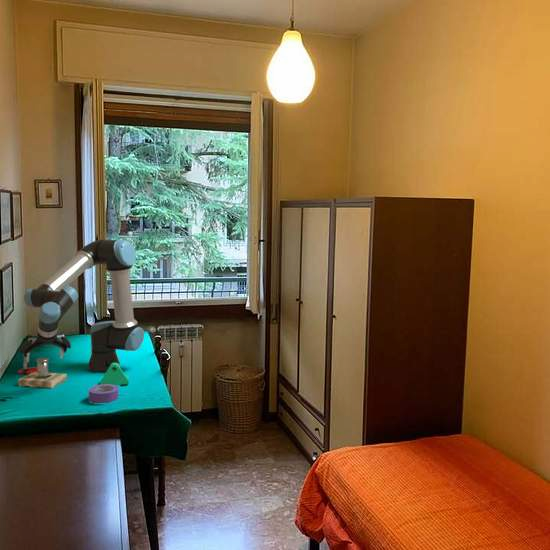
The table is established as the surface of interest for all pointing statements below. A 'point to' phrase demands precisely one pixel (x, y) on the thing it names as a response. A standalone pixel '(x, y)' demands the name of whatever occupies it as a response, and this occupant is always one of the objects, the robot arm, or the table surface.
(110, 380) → the green triangle
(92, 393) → the tape roll
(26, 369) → the tow hook
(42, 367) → the domed cap cylinder
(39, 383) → the jig
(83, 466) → the table surface
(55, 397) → the table surface
